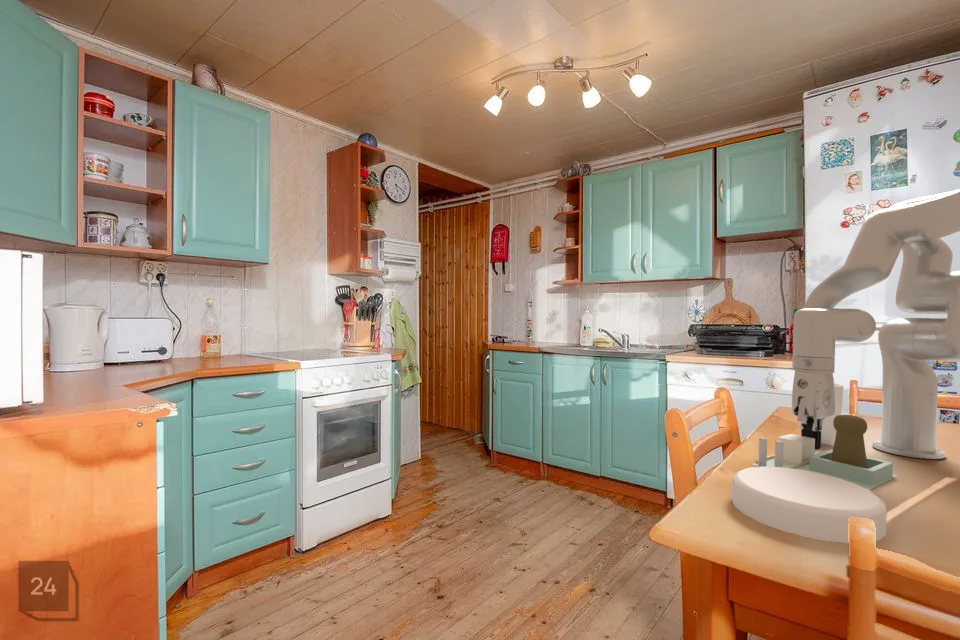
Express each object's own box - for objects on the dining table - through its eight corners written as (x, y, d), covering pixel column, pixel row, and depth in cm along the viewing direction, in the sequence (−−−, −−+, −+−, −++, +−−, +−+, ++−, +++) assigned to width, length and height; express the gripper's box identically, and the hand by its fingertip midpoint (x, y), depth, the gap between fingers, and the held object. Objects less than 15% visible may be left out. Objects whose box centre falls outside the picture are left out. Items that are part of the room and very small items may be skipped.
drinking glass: (840, 443, 116) (841, 383, 115) (843, 449, 110) (845, 386, 110) (807, 439, 119) (808, 381, 119) (808, 444, 114) (810, 384, 113)
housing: (790, 454, 101) (790, 433, 101) (814, 459, 97) (815, 438, 97) (776, 458, 98) (777, 437, 98) (801, 464, 94) (801, 442, 94)
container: (905, 560, 60) (906, 524, 60) (730, 523, 70) (731, 493, 70) (867, 505, 77) (868, 478, 77) (732, 482, 87) (732, 458, 87)
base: (793, 456, 103) (793, 427, 103) (897, 481, 88) (898, 447, 88) (751, 470, 94) (752, 437, 94) (860, 501, 79) (861, 461, 78)
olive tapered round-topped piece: (876, 478, 86) (878, 420, 86) (840, 475, 88) (841, 418, 87) (856, 468, 92) (857, 413, 92) (822, 465, 94) (824, 411, 93)
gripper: (817, 368, 94) (815, 457, 94) (847, 365, 102) (845, 447, 102) (777, 364, 100) (775, 448, 101) (809, 361, 109) (806, 439, 109)
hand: (810, 447), depth 102 cm, fingers closed
